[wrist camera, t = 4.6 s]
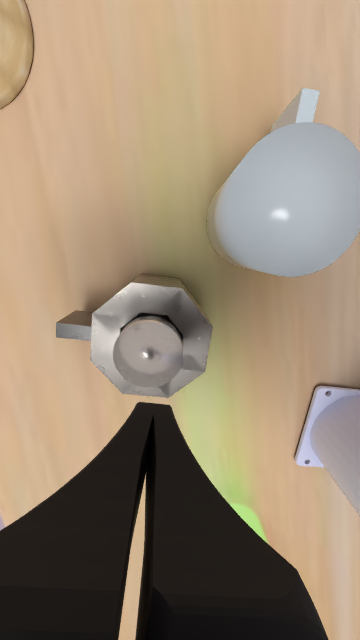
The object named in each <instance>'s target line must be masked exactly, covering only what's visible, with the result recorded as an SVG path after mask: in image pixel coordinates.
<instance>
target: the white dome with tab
mask: <svg viewBox="0 0 360 640" xmlns="http://www.w3.org/2000/svg"><path fill="white" fill-rule="evenodd" d="M319 92H320V91H317V90H312V89H306V88H302V89H301V91H300V92H299V93H298V94H297V96H296V97H295V98H294V99H293V100H292V102H291V103H290V104H289V105H288V107H287V108H286V109H285V110H284V111H283V113H282V114H281V115H280V116H279V118H278V119H277V120H276V121H275V122H274V124H273V125H272V128H271V133H269V134H268V135H266V136H265V137H264V138H262V139H261V140H260V141H259V142H258V143H256V144H255V145H254V146H253V147H252V148H251V150H250V151H249V152H248V153H247V155H246V156H245V157H244V158H243V160H242V161H241V162H240V163H239V165H238V166H237V167H236V168H235V170H234V171H233V172H232V173H231V175H230V176H229V177H228V178H227V180H226V181H225V182H224V183H223V185H222V186H221V187H220V188H219V190H218V191H217V192H216V194H215V195H214V197H213V199H212V201H211V203H210V206H209V209H208V213H207V221H206V223H207V233H208V237H209V240H210V243H211V245H212V247H213V248H214V250H215V251H216V253H217V254H218V255H219V256H220V257H221V258H222V259H224V260H225V261H226V262H228V263H230V264H232V265H235V266H238V267H242V268H247V269H251V270H256V271H260V272H264V273H269V274H273V275H278V276H283V277H297V276H304V275H308V274H311V273H314V272H317V271H319V270H321V269H323V268H325V267H327V266H328V265H330V264H331V263H333V262H334V261H335V260H336V259H338V258H339V257H340V256H341V255H342V254H343V253H344V252H345V251H346V250H347V249H348V248H349V246H350V245H351V244H352V242H353V241H354V239H355V238H356V236H357V234H358V233H359V231H360V153H359V151H358V150H357V148H356V147H355V146H354V144H353V143H352V142H351V141H350V140H349V139H348V138H347V137H346V136H345V135H344V134H342V133H341V132H339V131H337V130H336V129H334V128H332V127H329V126H327V125H323V124H319V123H313V119H314V114H315V110H316V105H317V101H318V96H319Z"/></svg>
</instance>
